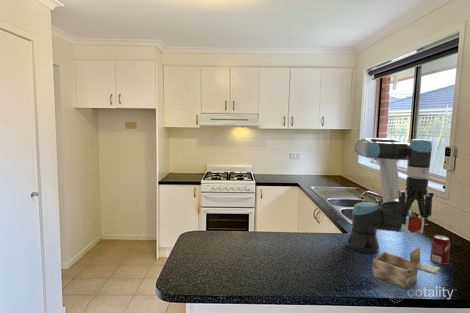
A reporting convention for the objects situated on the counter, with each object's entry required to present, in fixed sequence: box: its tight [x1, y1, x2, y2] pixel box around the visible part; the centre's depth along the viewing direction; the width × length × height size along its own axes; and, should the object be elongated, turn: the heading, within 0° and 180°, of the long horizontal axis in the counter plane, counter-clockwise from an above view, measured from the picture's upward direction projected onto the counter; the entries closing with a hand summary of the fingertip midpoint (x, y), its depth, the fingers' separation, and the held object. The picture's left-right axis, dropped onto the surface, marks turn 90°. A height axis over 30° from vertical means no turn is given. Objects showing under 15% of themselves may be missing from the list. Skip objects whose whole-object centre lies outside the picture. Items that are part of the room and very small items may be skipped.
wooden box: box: [371, 251, 419, 290], centre depth 114 cm, size 14×12×8 cm
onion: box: [408, 213, 422, 233], centre depth 115 cm, size 6×6×8 cm
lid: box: [409, 246, 441, 275], centre depth 106 cm, size 7×10×8 cm
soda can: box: [429, 234, 451, 265], centre depth 130 cm, size 7×7×12 cm
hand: (412, 231), depth 116 cm, fingers closed on onion, 6 cm apart
